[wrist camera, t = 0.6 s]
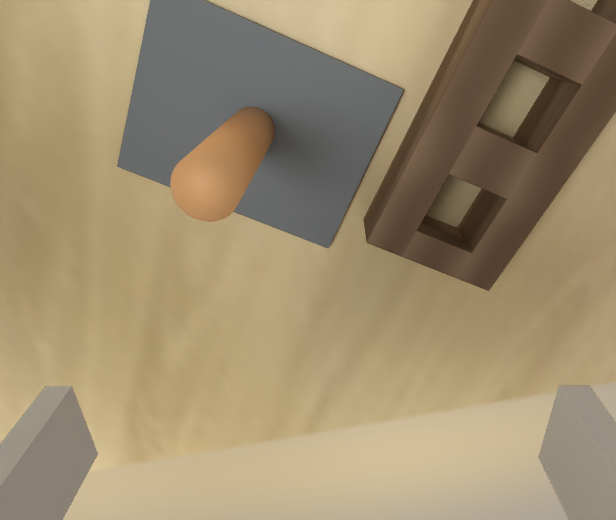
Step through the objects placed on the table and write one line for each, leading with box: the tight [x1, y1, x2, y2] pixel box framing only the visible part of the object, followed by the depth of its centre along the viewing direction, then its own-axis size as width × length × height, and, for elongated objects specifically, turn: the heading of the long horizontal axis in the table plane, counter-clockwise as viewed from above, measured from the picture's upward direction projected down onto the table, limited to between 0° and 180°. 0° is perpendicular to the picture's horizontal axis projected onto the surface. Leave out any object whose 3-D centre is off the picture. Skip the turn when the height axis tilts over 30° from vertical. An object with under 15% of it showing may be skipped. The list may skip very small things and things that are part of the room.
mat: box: [117, 0, 403, 248], centre depth 30 cm, size 16×12×1 cm
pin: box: [170, 107, 275, 221], centre depth 24 cm, size 3×3×12 cm
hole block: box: [364, 0, 616, 291], centre depth 26 cm, size 9×22×4 cm, turn 158°
